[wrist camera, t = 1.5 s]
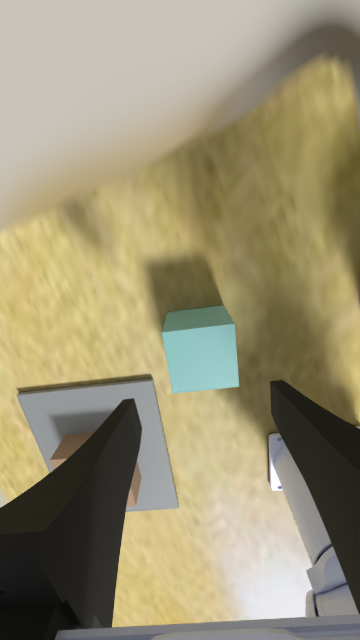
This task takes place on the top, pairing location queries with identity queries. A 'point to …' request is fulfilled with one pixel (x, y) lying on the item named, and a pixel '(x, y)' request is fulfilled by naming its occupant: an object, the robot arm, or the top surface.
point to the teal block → (200, 349)
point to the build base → (87, 416)
